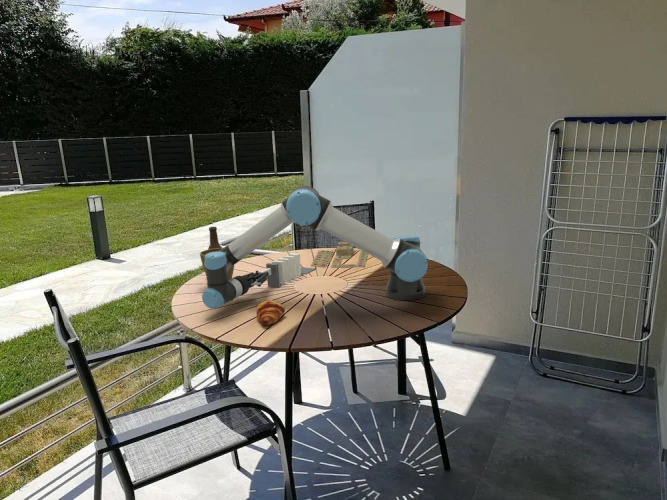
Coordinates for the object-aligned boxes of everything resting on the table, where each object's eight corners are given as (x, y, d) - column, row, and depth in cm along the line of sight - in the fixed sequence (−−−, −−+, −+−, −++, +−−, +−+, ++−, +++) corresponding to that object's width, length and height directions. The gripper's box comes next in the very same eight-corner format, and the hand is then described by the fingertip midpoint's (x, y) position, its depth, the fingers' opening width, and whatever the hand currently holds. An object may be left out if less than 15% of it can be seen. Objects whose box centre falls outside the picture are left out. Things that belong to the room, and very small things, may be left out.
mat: (306, 274, 236) (306, 273, 236) (291, 272, 239) (291, 272, 239) (315, 269, 244) (315, 268, 243) (301, 267, 247) (301, 267, 247)
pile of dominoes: (319, 252, 280) (318, 242, 278) (369, 251, 276) (368, 241, 275) (308, 269, 246) (307, 258, 245) (364, 268, 242) (364, 257, 241)
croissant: (267, 316, 194) (255, 299, 193) (289, 303, 193) (278, 286, 192) (259, 337, 174) (246, 318, 172) (285, 323, 173) (272, 303, 171)
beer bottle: (206, 280, 233) (200, 228, 228) (214, 276, 241) (208, 225, 235) (222, 281, 232) (216, 228, 226) (229, 276, 239) (224, 225, 233)
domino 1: (277, 287, 218) (275, 264, 215) (267, 286, 220) (265, 264, 218) (279, 286, 219) (278, 264, 217) (269, 285, 221) (268, 263, 219)
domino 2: (283, 284, 222) (281, 262, 219) (273, 283, 224) (271, 261, 221) (285, 283, 223) (283, 261, 221) (275, 282, 225) (273, 260, 223)
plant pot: (225, 294, 213) (221, 256, 209) (196, 291, 219) (192, 254, 215) (245, 283, 226) (242, 248, 222) (218, 281, 232) (214, 246, 228)
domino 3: (288, 281, 225) (287, 259, 223) (279, 280, 228) (277, 258, 225) (290, 280, 227) (289, 258, 224) (281, 279, 229) (279, 258, 227)
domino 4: (294, 279, 229) (292, 257, 227) (284, 278, 231) (283, 256, 229) (296, 278, 231) (294, 256, 228) (286, 277, 233) (284, 255, 231)
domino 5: (299, 276, 233) (297, 254, 231) (289, 275, 235) (288, 254, 233) (301, 275, 235) (299, 254, 232) (291, 274, 237) (290, 253, 234)
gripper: (222, 295, 200) (257, 278, 220) (250, 298, 194) (283, 281, 214) (220, 276, 198) (256, 261, 218) (248, 279, 192) (282, 263, 212)
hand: (269, 271), depth 216 cm, fingers closed
